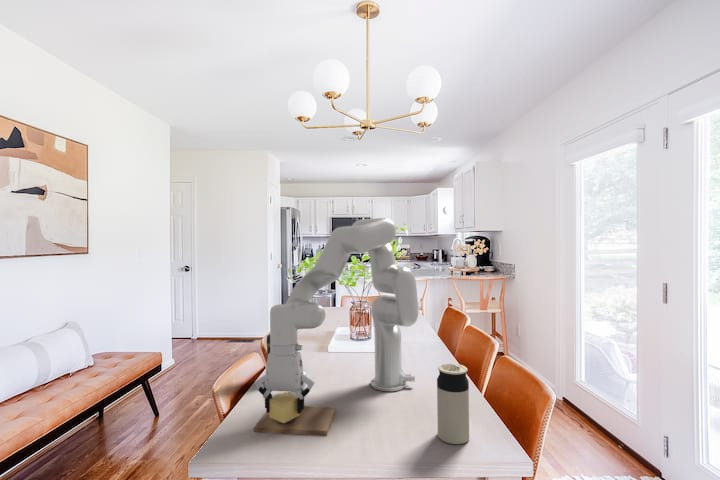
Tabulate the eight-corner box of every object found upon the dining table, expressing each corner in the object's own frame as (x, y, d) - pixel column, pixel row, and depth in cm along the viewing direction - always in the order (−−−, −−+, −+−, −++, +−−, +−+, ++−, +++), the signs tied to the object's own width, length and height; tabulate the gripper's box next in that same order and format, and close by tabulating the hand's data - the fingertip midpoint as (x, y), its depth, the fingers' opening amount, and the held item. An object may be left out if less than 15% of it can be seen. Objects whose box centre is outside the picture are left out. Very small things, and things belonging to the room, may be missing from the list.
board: (336, 411, 113) (335, 407, 113) (326, 435, 99) (326, 430, 99) (271, 408, 115) (271, 404, 115) (253, 431, 101) (253, 427, 101)
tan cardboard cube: (285, 409, 110) (285, 392, 110) (300, 414, 106) (299, 397, 106) (269, 417, 105) (269, 399, 105) (283, 423, 101) (283, 404, 101)
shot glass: (291, 399, 122) (291, 377, 122) (285, 392, 128) (285, 371, 128) (311, 395, 125) (311, 374, 125) (304, 388, 131) (304, 368, 131)
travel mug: (442, 446, 93) (441, 373, 93) (434, 430, 101) (433, 363, 101) (473, 444, 94) (472, 372, 94) (463, 428, 101) (462, 362, 102)
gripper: (317, 345, 108) (317, 406, 108) (259, 344, 110) (259, 404, 110) (311, 353, 101) (311, 418, 101) (248, 352, 103) (249, 416, 103)
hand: (284, 410), depth 105 cm, fingers closed on tan cardboard cube, 8 cm apart
